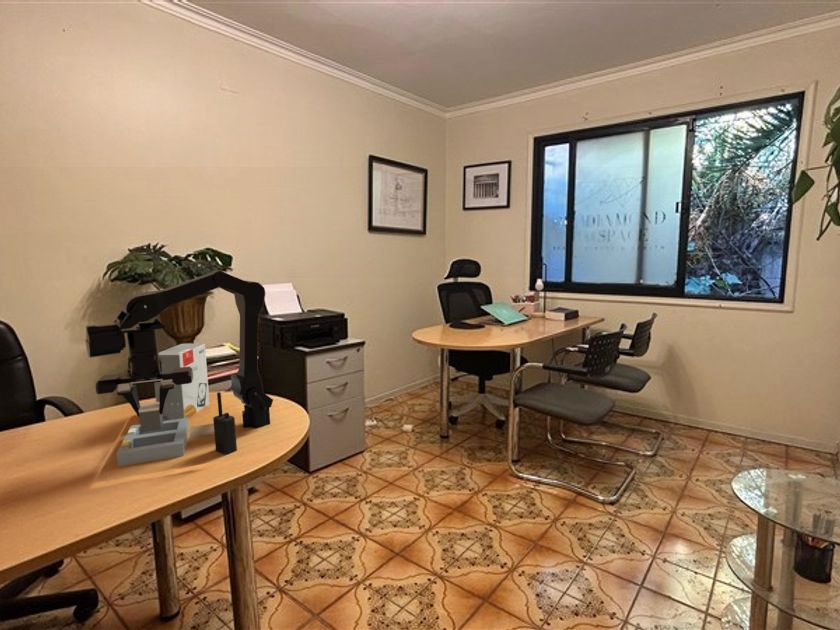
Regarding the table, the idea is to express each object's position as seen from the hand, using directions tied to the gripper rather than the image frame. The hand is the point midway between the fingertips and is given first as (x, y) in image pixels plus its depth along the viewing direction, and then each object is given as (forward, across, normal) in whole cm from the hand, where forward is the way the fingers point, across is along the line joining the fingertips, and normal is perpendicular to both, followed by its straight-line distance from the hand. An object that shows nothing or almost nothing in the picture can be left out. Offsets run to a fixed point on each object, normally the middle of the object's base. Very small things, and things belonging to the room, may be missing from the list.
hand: (151, 415), depth 107 cm
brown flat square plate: (+10, -10, -9) cm, 17 cm away
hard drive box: (+10, -4, -26) cm, 29 cm away
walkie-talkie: (+10, -15, +6) cm, 19 cm away
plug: (+3, 0, 0) cm, 3 cm away
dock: (+10, 0, -4) cm, 11 cm away
